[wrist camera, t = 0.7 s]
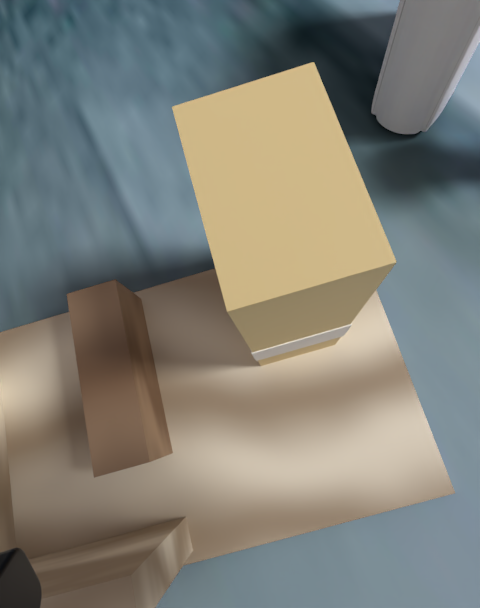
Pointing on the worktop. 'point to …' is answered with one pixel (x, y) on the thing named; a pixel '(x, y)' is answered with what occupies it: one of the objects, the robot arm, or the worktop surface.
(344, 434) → the wooden blocks on plank
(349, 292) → the tea box
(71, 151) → the worktop surface
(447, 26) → the photo printer
